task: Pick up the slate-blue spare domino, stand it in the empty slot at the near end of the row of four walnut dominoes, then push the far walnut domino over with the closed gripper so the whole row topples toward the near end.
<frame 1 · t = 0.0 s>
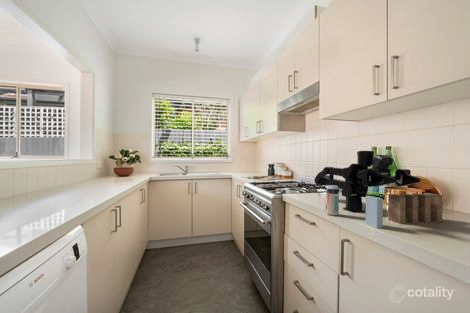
hand: (408, 180, 71), 17 cm above the worktop, tool horizontal, fingers open, 9 cm apart
domino 4: (396, 221, 81), on the worktop
beer can: (332, 215, 89), on the worktop
slate domino: (373, 225, 75), on the worktop
domino 1: (432, 219, 83), on the worktop
domino 3: (408, 220, 81), on the worktop
domino 2: (420, 220, 82), on the worktop
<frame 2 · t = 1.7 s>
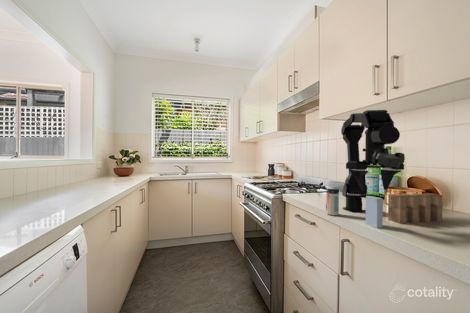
hand: (374, 189, 75), 13 cm above the worktop, tool pointing down, fingers open, 9 cm apart
nothing on the worktop moved.
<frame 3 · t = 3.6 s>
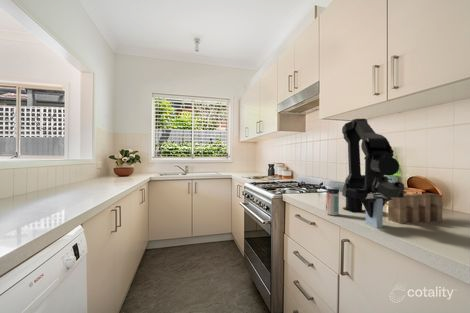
hand: (373, 217, 75), 3 cm above the worktop, tool pointing down, fingers closed on slate domino, 2 cm apart
slate domino: (373, 225, 75), on the worktop, touching gripper
everything else where it was.
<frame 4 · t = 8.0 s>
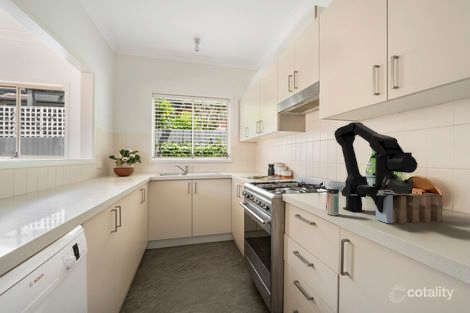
hand: (383, 212, 80), 4 cm above the worktop, tool pointing down, fingers closed on slate domino, 2 cm apart
domino 4: (396, 221, 81), on the worktop, touching gripper
slate domino: (383, 220, 80), on the worktop, touching gripper
everything else where it was.
when the fingers open (4 cm above the worktop, at t = 8.0 s): slate domino stays where it is, on the worktop.
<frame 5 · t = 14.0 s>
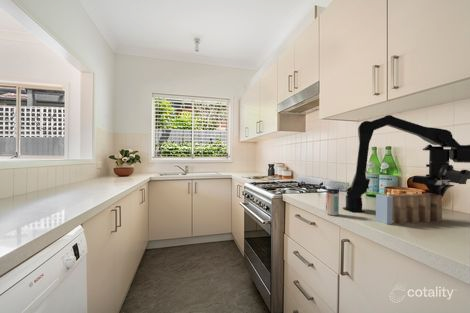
hand: (438, 201, 84), 7 cm above the worktop, tool pointing down, fingers closed
domino 4: (396, 221, 81), on the worktop
slate domino: (383, 222, 80), on the worktop
domino 1: (432, 219, 83), on the worktop, touching gripper
everything else where it was.
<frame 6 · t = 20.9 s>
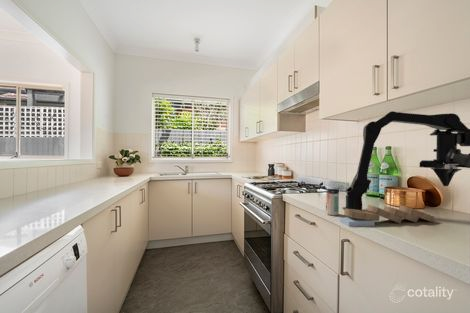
hand: (445, 186, 84), 13 cm above the worktop, tool pointing down, fingers closed
domino 4: (374, 216, 79), point 2 cm above the worktop, tilted 84°, touching domino 3, slate domino
slate domino: (369, 221, 78), point 1 cm above the worktop, tilted 90°, touching domino 4
domino 1: (426, 217, 82), point 1 cm above the worktop, tilted 71°, touching domino 2
domino 3: (395, 218, 80), point 1 cm above the worktop, tilted 67°, touching domino 2, domino 4
domino 2: (410, 217, 82), point 1 cm above the worktop, tilted 70°, touching domino 1, domino 3
everything else where it was.
at the end: slate domino tilted 90°; domino 3 tilted 67°; slate domino inside the target area (4.1 cm from its centre), on the worktop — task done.
